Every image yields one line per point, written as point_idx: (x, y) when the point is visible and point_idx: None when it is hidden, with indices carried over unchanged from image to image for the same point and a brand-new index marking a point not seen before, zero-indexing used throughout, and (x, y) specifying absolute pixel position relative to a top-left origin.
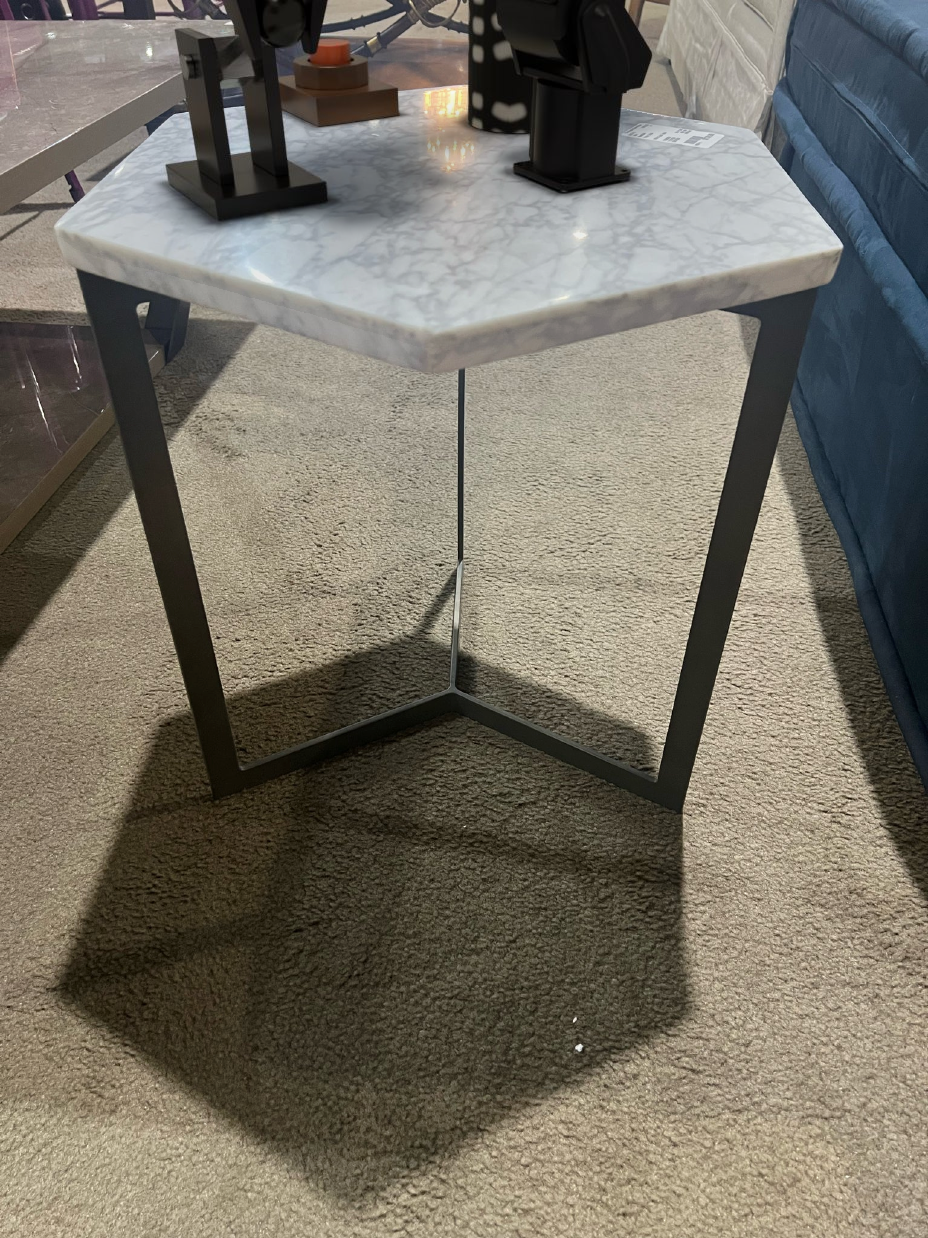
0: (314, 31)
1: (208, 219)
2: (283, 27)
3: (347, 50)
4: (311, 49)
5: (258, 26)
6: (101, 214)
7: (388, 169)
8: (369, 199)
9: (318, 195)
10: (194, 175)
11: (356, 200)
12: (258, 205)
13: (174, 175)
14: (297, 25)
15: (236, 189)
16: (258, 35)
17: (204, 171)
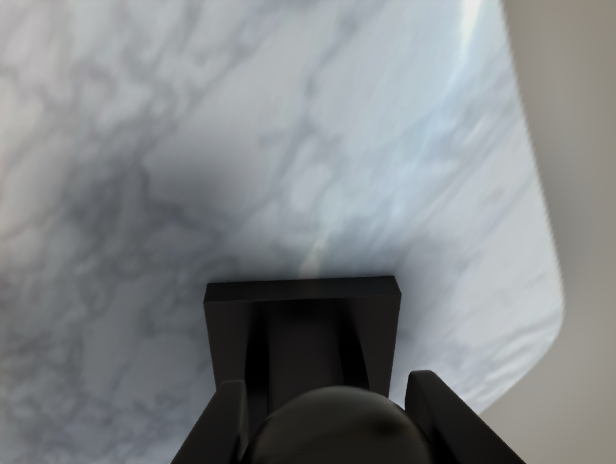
0: (223, 421)
1: (401, 288)
2: (370, 406)
3: None
4: (242, 382)
5: (447, 435)
6: (504, 360)
7: (59, 372)
8: (138, 264)
9: (223, 288)
10: None
11: (161, 269)
12: (329, 284)
13: None
14: (311, 411)
15: (349, 324)
16: (440, 413)
17: None
